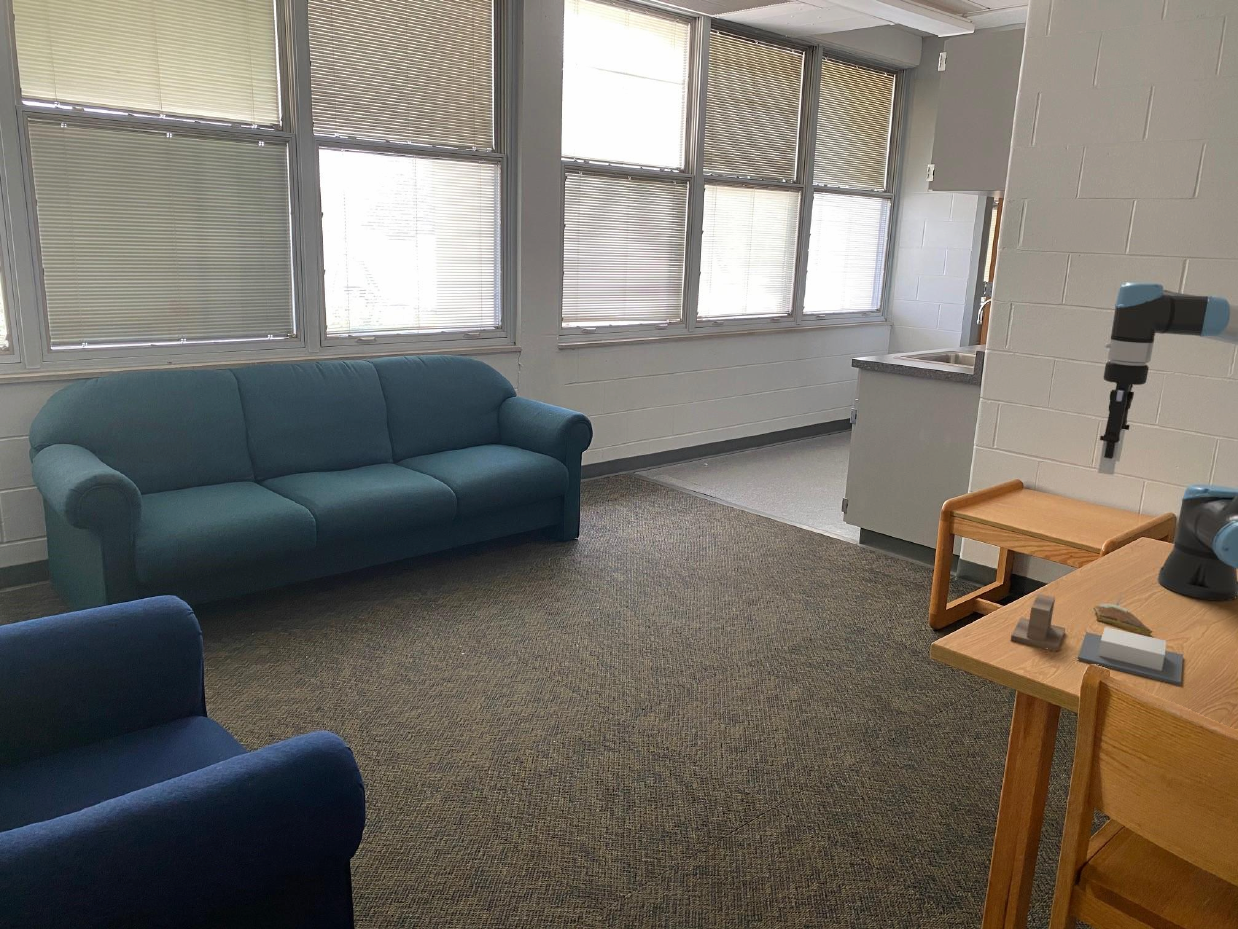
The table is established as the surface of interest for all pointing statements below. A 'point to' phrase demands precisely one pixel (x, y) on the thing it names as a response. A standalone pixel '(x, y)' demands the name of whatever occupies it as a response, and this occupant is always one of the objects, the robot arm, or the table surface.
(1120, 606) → the sign
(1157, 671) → the rubber mat
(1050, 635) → the walnut stand
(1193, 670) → the table surface
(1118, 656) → the card box
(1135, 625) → the shard
